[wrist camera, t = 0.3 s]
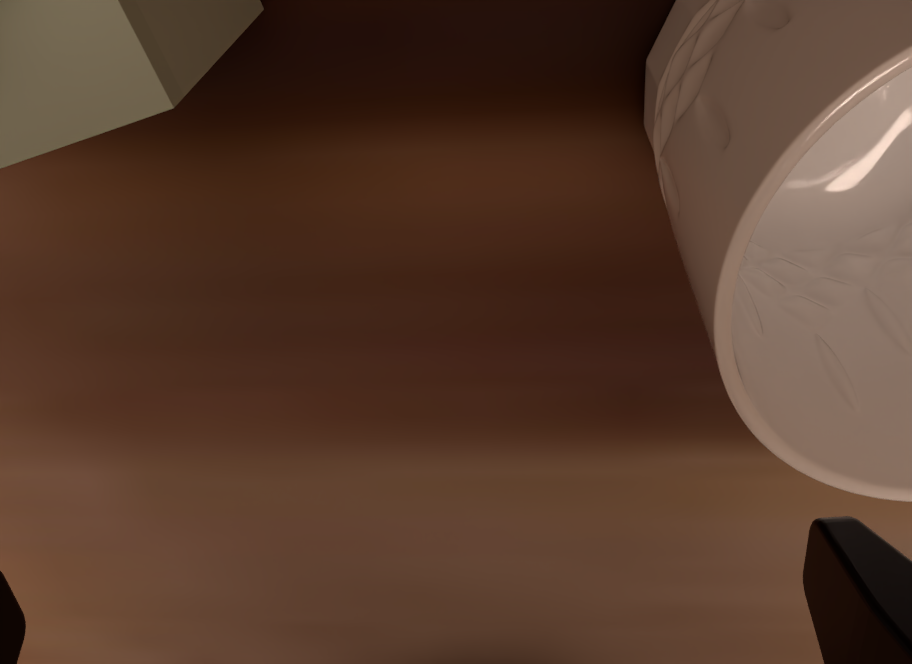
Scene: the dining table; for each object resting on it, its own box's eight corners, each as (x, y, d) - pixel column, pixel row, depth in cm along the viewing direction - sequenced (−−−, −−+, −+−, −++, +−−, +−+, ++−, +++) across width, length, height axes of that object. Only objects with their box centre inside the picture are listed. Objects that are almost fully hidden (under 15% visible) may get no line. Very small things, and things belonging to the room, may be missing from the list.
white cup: (583, 209, 22) (651, 473, 14) (667, -137, 18) (839, -64, 10) (879, 251, 23) (1120, 530, 14) (1028, -77, 18) (1497, 44, 10)
